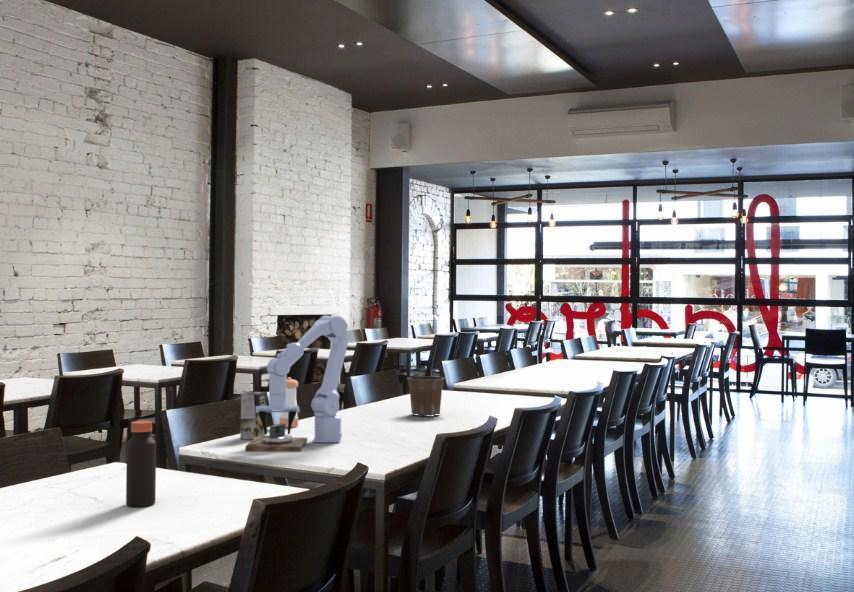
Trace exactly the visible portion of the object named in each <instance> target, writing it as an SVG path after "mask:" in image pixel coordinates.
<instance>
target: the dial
mask: <svg viewBox="0 0 854 592" xmlns="http://www.w3.org/2000/svg"><path fill="white" fill-rule="evenodd" d="M292 437H293V435H290V434H286V428H285V424H282V423H276V424H273V425H270V426H269V434H268V435H267V434H266V436H263V437H262V442H263V443H269V444H283V443H290V442H292Z"/></svg>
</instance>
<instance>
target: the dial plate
mask: <svg viewBox="0 0 854 592" xmlns="http://www.w3.org/2000/svg"><path fill="white" fill-rule="evenodd" d="M307 443H308V437H293V436H292V442H290V443H283V444H269V443H263V442H262V437H255V438H254V439H253V440H250V442H249V443H248V444H246V445H245V450H246V451H245V452H301V451H303V449H304V447H305V446H306V444H307Z"/></svg>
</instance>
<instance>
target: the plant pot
mask: <svg viewBox="0 0 854 592" xmlns="http://www.w3.org/2000/svg"><path fill="white" fill-rule="evenodd" d="M406 379H407V383H408V387H409V396H410V407H411V408H410V409H411V414H412V413H413V414H418V415H422V416H423V415H435V414H441V404H442V403H441V402H442V394H443V393H442V392H443V387H444V380H445V377H443V376H428V375H427V376H411V377H410V376H409V377H407V378H406Z"/></svg>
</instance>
